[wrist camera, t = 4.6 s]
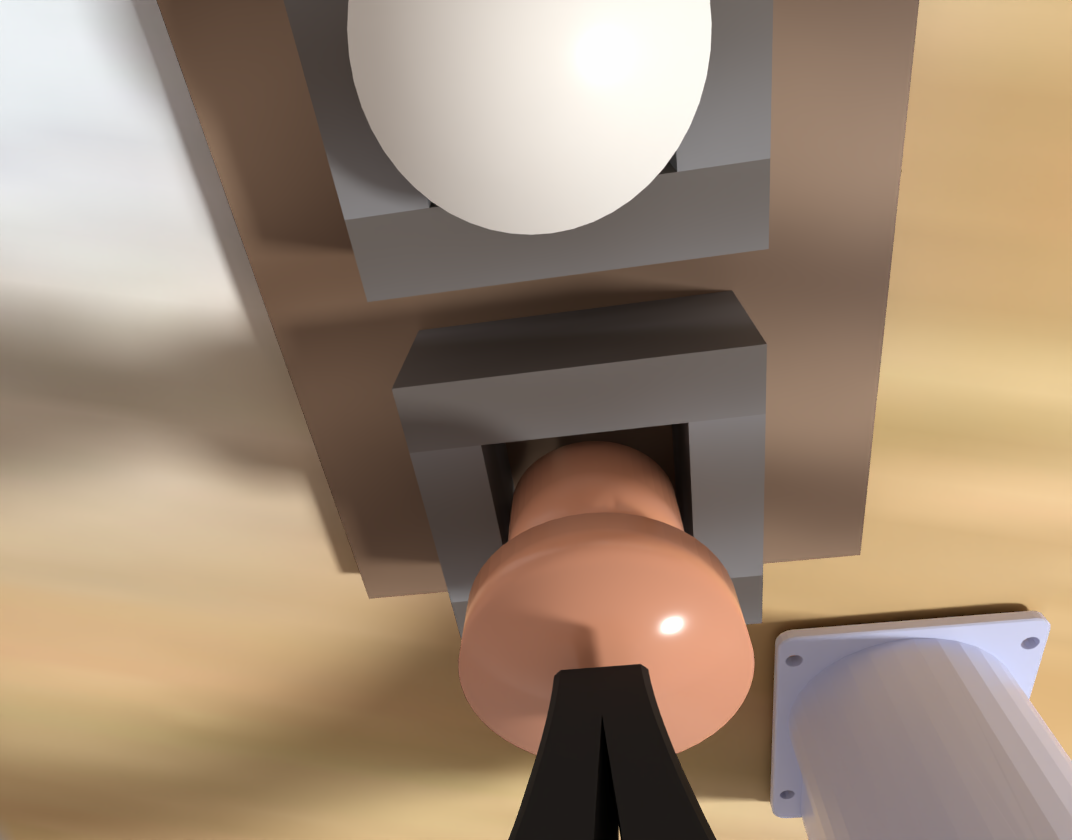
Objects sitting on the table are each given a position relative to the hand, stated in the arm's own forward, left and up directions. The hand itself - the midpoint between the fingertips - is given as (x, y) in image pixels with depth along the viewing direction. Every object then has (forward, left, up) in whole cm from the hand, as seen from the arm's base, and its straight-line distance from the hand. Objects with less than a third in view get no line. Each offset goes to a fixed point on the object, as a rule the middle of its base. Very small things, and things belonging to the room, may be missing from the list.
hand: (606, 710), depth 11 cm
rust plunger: (0, 0, -5) cm, 5 cm away
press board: (+4, 0, -9) cm, 10 cm away
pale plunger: (+9, 0, -8) cm, 12 cm away
